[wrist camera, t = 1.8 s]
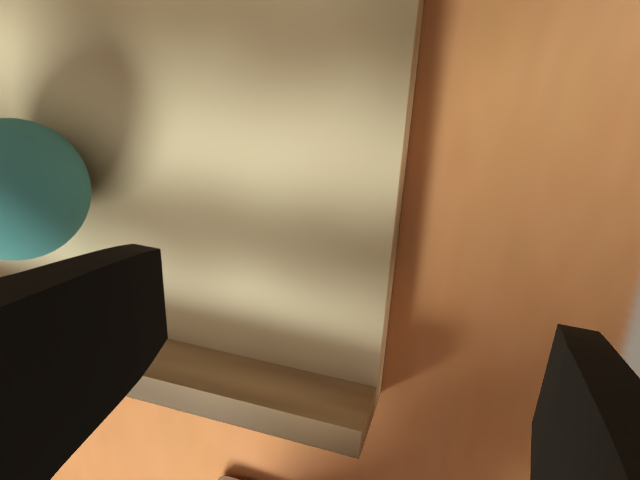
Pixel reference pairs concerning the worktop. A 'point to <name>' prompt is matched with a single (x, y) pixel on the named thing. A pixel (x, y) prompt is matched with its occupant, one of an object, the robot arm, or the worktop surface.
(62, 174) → the ball
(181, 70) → the lane
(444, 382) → the worktop surface
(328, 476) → the worktop surface
